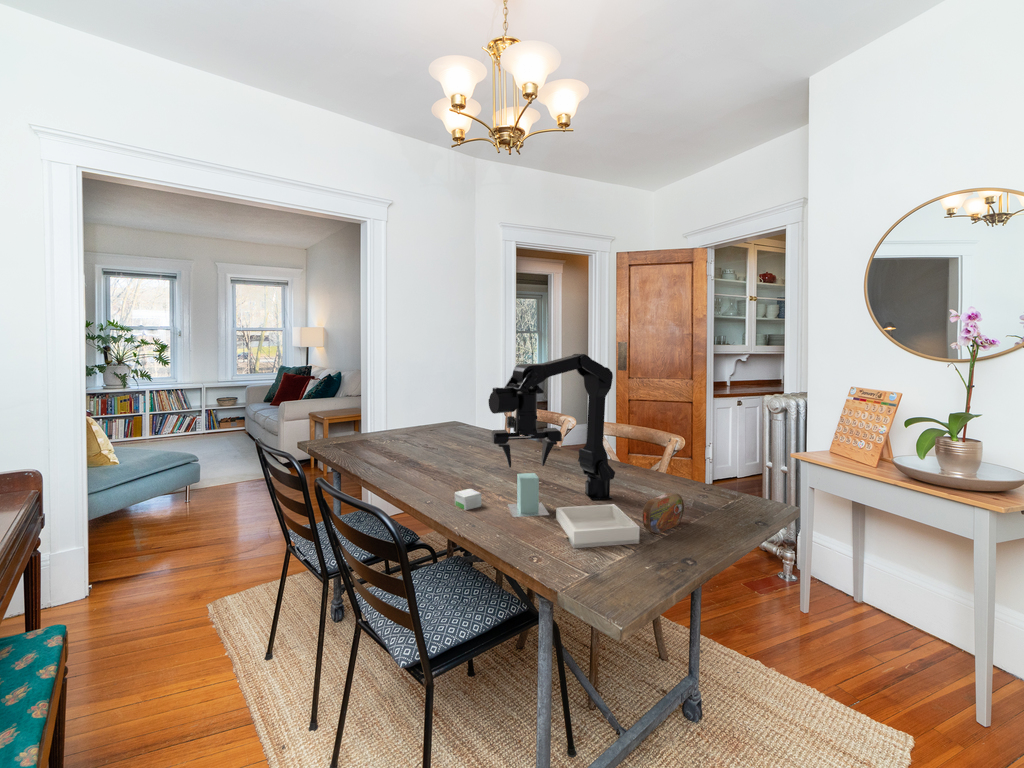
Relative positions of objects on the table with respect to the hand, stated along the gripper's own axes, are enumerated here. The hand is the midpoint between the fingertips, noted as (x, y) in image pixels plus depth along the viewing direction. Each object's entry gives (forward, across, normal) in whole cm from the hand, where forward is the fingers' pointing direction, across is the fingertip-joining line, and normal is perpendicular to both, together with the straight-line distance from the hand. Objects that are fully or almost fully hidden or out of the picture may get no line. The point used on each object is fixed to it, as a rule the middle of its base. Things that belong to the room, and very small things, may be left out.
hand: (526, 466), depth 135 cm
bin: (+13, -14, +17) cm, 26 cm away
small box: (+13, +16, -5) cm, 21 cm away
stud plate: (+13, 0, +1) cm, 13 cm away
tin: (+13, -32, +17) cm, 39 cm away
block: (+12, 0, +1) cm, 12 cm away
